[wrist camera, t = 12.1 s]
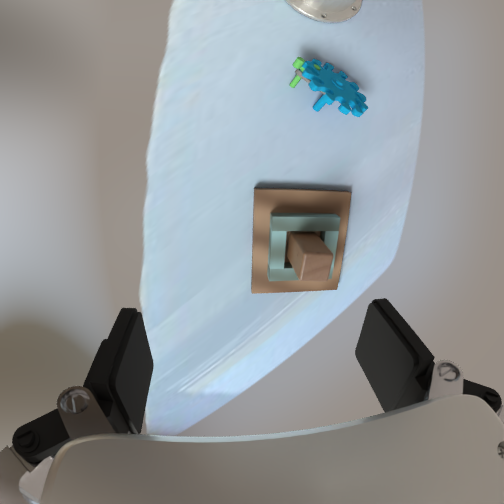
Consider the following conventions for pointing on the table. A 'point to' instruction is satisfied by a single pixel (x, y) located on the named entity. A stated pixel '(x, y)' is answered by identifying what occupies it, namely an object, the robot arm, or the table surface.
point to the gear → (330, 86)
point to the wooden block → (309, 256)
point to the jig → (295, 219)
